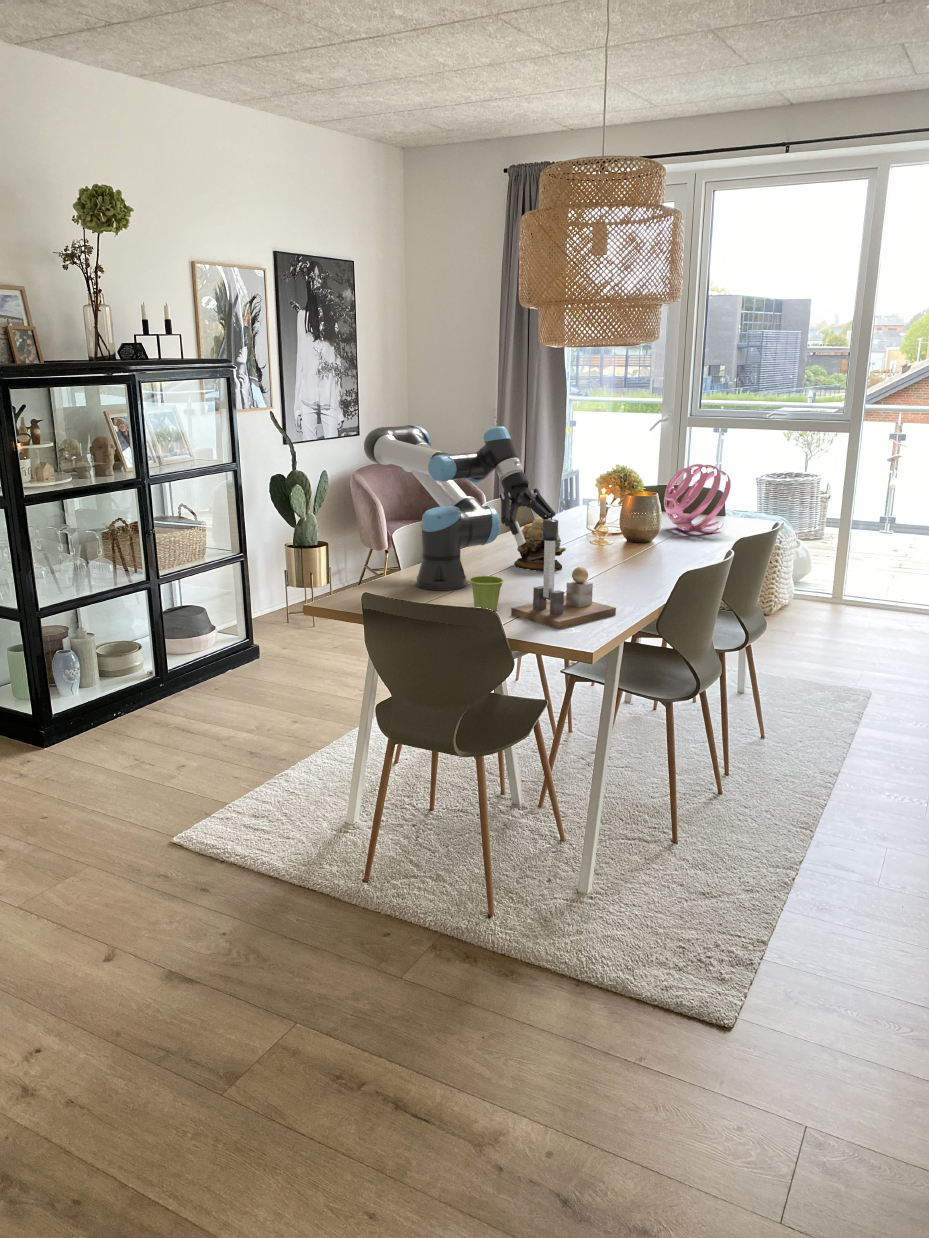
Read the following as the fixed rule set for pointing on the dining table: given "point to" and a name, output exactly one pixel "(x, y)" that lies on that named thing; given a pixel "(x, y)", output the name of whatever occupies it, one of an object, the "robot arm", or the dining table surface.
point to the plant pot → (486, 591)
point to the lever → (549, 555)
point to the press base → (564, 607)
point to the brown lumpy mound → (535, 548)
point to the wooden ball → (579, 574)
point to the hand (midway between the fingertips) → (538, 542)
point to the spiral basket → (691, 495)
